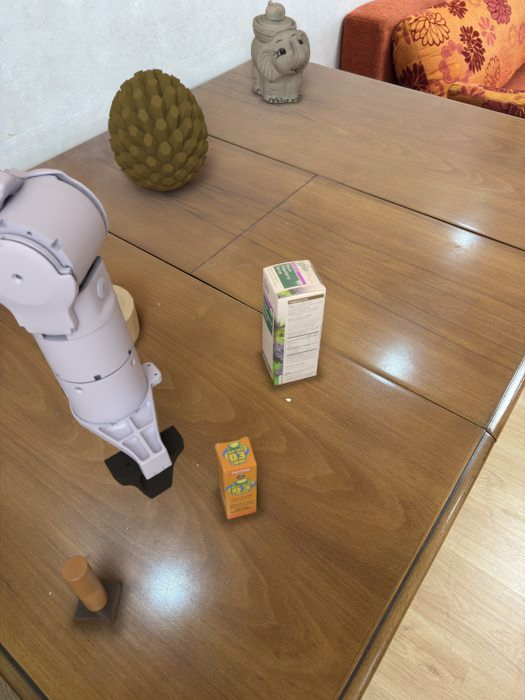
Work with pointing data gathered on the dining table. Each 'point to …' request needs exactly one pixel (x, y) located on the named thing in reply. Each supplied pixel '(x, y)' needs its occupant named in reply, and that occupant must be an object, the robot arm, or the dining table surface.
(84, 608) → the wooden handle stamp
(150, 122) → the decorative object
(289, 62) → the grey elephant figurine
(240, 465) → the supplement box
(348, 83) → the dining table surface
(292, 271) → the syrup box
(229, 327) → the dining table surface
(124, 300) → the cream ceramic ramekin
